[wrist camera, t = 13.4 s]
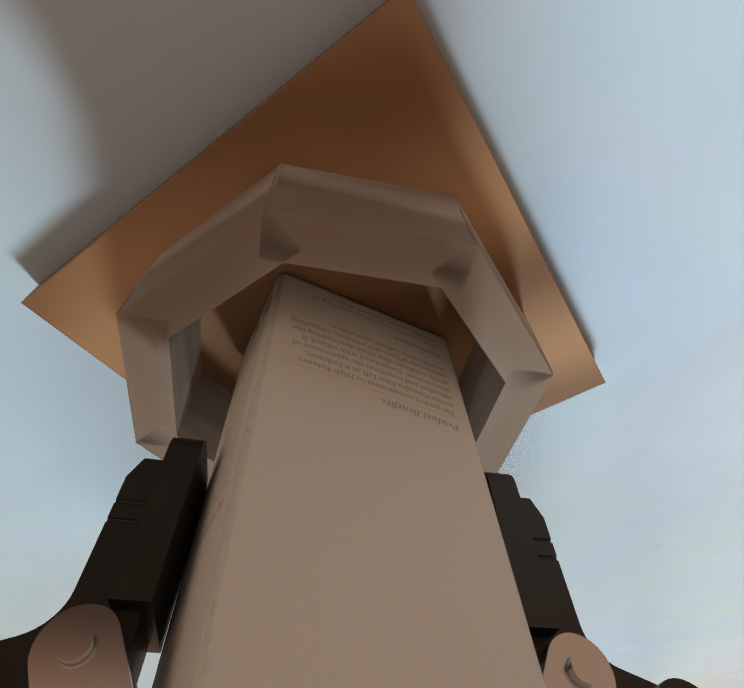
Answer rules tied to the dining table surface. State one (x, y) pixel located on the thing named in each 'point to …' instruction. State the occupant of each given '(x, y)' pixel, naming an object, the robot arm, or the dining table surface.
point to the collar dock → (350, 132)
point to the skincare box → (346, 519)
